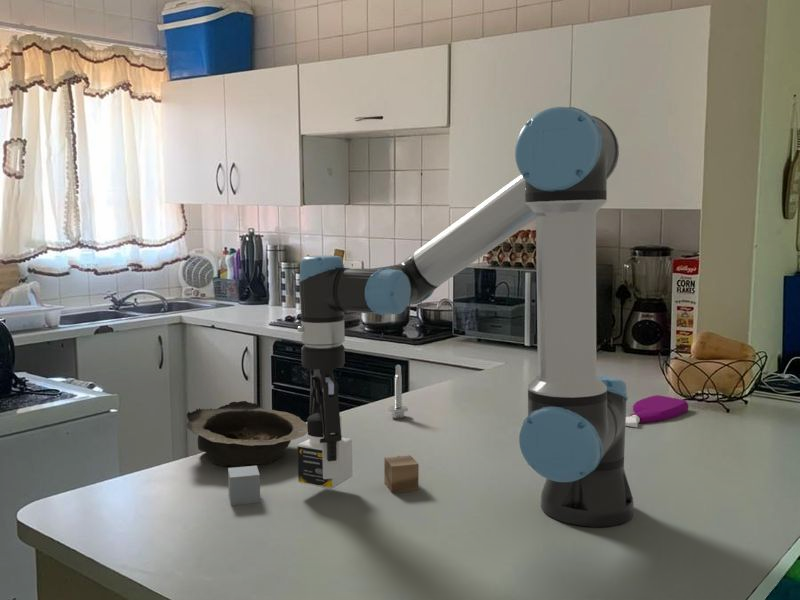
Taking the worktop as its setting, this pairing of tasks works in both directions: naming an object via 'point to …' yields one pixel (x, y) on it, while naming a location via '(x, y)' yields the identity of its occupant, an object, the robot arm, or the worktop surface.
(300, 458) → the medicine bottle
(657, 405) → the spray bottle
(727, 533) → the worktop surface
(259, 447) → the stone bowl
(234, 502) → the slate block
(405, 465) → the walnut block
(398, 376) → the screw
